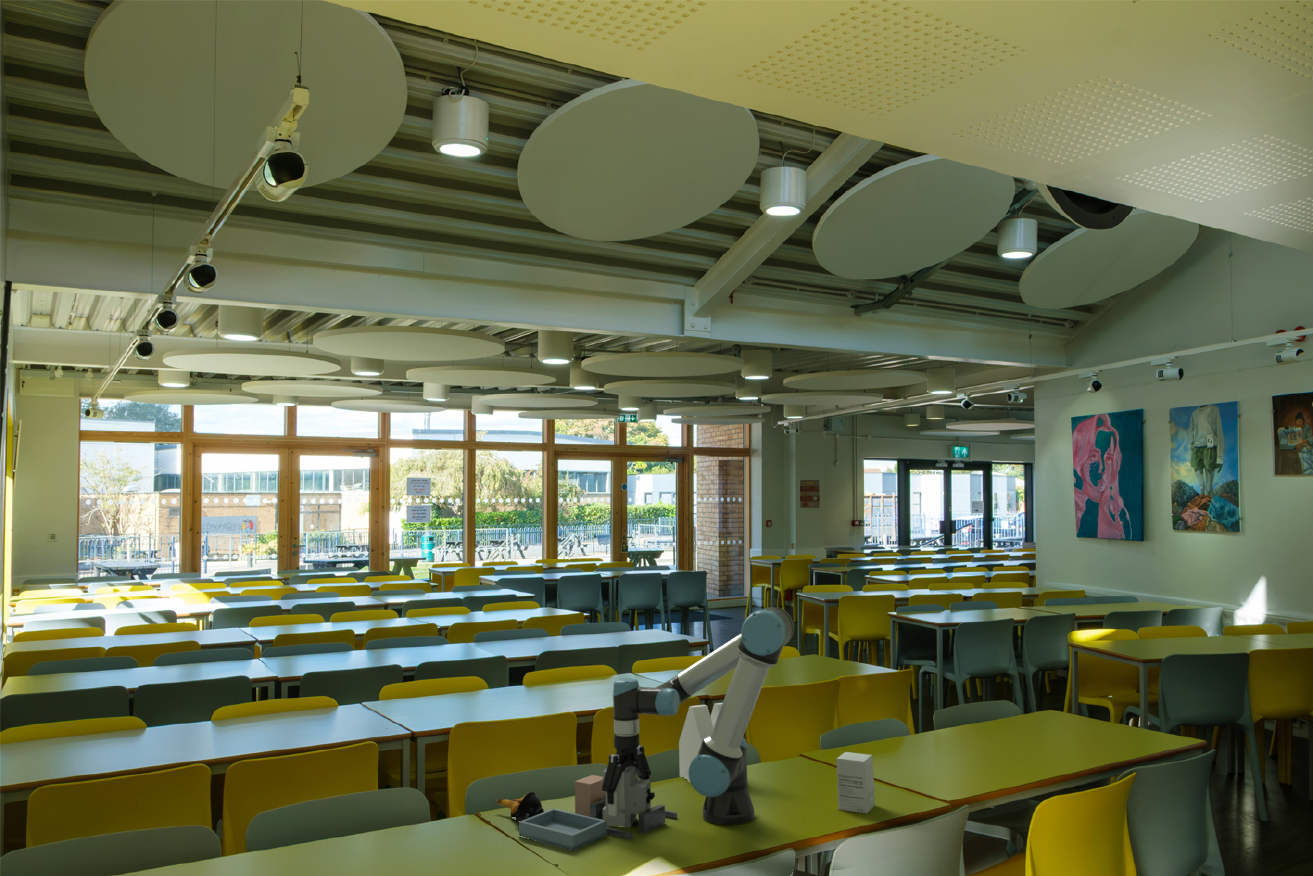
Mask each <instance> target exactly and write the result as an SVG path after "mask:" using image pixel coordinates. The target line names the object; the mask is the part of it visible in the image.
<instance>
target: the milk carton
mask: <svg viewBox="0 0 1313 876" xmlns="http://www.w3.org/2000/svg"><path fill="white" fill-rule="evenodd" d="M722 704H723V702H714V705H713V707H712V710H711V713H710V710H709V707H708V705H706V704H699V705H691V706H689V707H688V710H687V713H686V716H685V720H684V723H683V727H682V730H681V734H680V737H679V741H678V747H679V748H678V752H679V753H678V754H679V755H678V757H679V758H678V759H679V777H680V778H682V777H684V778H685V779H687V780H688V781H687V780H686V781H687V782H689V781H690V779H689V767H690V764H691V762H692V761H693V759H694V758H695V757H696V756H697V754H698V752H699V749H700V747H701V744H702V741H703V739H704V737H705V736H707V735H710V734H711V733H712V730H713V728H714V725H715V722H716V720H717V717H718V714H719V712H720V709H721V706H722ZM684 778H683V779H684ZM685 779H684V780H685ZM689 783H691V781H690V782H689Z"/></svg>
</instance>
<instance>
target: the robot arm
mask: <svg viewBox="0 0 1313 876" xmlns="http://www.w3.org/2000/svg"><path fill="white" fill-rule="evenodd" d="M793 621H794V620H793V619H792V617H791V615H790V614H789V613H788V612H787V611H786V610H785V609H783V608H781V607H778V606H767V607H765V608H763V609H758V610H756V611H753V612H752V613H751V614H749V616H747V617H746V619H745V620H744V621H743V624H742V627H741V631H740V632H741V633H739V634H738V635H736V636H734V637H732V639H730V640H728V641H727V642H726V643H724V644H723V645H720V646H719V647H717V648H716V649H715V650H713V651H712V652H710V653H709V654H708V655H705V657H703V658H700V659H699V660H698V661H696V662H694V664H691V666H689V667H687V668H686V669H683V670H682V671H681V672H680V673H678V674H677V675H675V676H673V677H672V678H671V679H669V680H667V681H665V682H664V683H662V684H660V685H658V686H656V687H651V686H650V687H649V686H648V687H647V686H640V683H639V681H638V679H636V678H631V677H630V678H618V679H615V681H614V682H613V691H612V692H613V693H612V701H613V705H612V707H613V733H614V735H613V747H614V748H615V750H616V752H615V754H609V755H608V764H607V767H606V769H607V771H606V774H605V778H604V782H603V786H602V791H606V792H607V803H608V815H611V816H617V792H615V790H616V787H617V785H618V782H619V780H620V778H621V775H622V772H623V771H624V770H625V769H626V768H627V767H629V766H635V767H636V776H637V777H638V779H645V780H650V776H651V775H652V772H651V769H650V766H649V763H648V762H649V761H648V760H647V757H646V754H645V748H644V747H645V746H643V745H640V734H639V732H640V714H643V715H657V716H665V717H666V716H675V715H676V714H677V713H678V710H679V708H680V705H681V704H682V703H684V702H685V701H687V700H688V699H689V698H692V696H694V695H695V694H697V693H698V692H700V691H701V690H703V689H705V688H706V687H707V686H709V685H711V684H712V683H714V682H716V681H717V680H719V679H720V678H722V677H724V676H725V675H726V674H728V673H729V672H731V671H733V670H734V672H733V675H732V678H731V680H730V683H729V685H728V687H727V691H726V694H725V695H724V699H723V701H722V703H723V704H722V706H721V709H720V712H719V714H718V717H717V720H716V722H715V725H714V728H713V730H712V733H711V734H710V735H707V736H705V737H704V739H703V741H702V744H701V747H700V749H699V752H698V754H697V756H696V757H695V758H694V759H693V761H692V762H691V764H690V767H689V779H690V781H691V782H690V784H691V785H692V787H693V789H694V790H695V791H696V792H697V793H698V794H700V795H702V796H704V797H705V799H704V804H703V806H702V818H703V819H704V820H705V821H707V822H709V823H712V824H717V825H723V824H725V825H727V826H729V825H731V826H732V825H733V824H736V825H742V823H743V824H746V822H747V823H749V822H751V821H753V820H754V819H755V807H754V805H753V802H752V798H751V795H750V793H749V792H750V791H749V790H748V789H749V788H748V766H747V765H748V756H747V755H748V754H747V753H748V752H747V750H748V747H747V741H746V739H745V737H744V735H745V734H746V730H747V728H748V725H749V722H750V720H751V717H752V715H753V712H754V710H755V706H756V704H757V701H758V698H759V696H760V693H761V690H762V688H763V685H764V683H765V680H766V678H767V675H768V672H769V670H770V668H772V667H775V666H776V665H778V661H779V660H780V659H779V658H780V656H781V654H782V651H783V648H784V647H785V645H787V644H788V643H789V642H790V641H791V639H792V637H793V634H794V631H795V625H794V622H793ZM619 765H620V766H619ZM606 786H607V787H606ZM725 825H724V826H725Z"/></svg>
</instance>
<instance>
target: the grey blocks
mask: <svg viewBox="0 0 1313 876" xmlns="http://www.w3.org/2000/svg"><path fill="white" fill-rule="evenodd" d="M605 806H606V797H605V798H602V799H600V800H597V801H595V802H592V803H591V817H592V818H597V819H602V820H603V809H604V807H605ZM665 816H667V817H665ZM637 817H638V818H637V819H638V822H637V823H638V833H639V834H644V835H645V834H647V833H649V832H651V831H653V830H655V829H657V828H659V827H662V826H663V825H665V824H666V818H669V817H670V819H674V820H676V819H678V812H676V811H672V810H667V809H666V806H665V805H664V804H657V805H655V806H651V807H650V808H649V809H648V810H646V811H643V812H641V813H639V814H637ZM664 823H665V824H664ZM608 834H611V835H610V836H612V835H613V836H612V837H616V836H617V838H620V839H625V840H628V841H632V840H634V833H633V832H628V831H625V830H621V829H617V828H614V827H613V828H612V827H610V826H607V835H608Z"/></svg>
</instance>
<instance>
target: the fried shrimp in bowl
mask: <svg viewBox="0 0 1313 876" xmlns="http://www.w3.org/2000/svg"><path fill="white" fill-rule="evenodd" d="M496 804H497V805H499V806H501V807H503V808H506V809H507V808H508V809H510V818H511V817H516V820H517V821H518V823H519V821H523V820H525V819H528V818H530V817H533V816H535V815H538V814H541V813H543V812H545V810H544V809H543V804H542V802H541V799H539V797H537V794H536V793H535V792H534V791H530V792H528V793H526V794H525V795H523V796H522V797H520V798H518V799H517V798H515V799H514V798H513V800H510V799H502V798H499V799H496ZM517 821H516V822H517Z"/></svg>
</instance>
